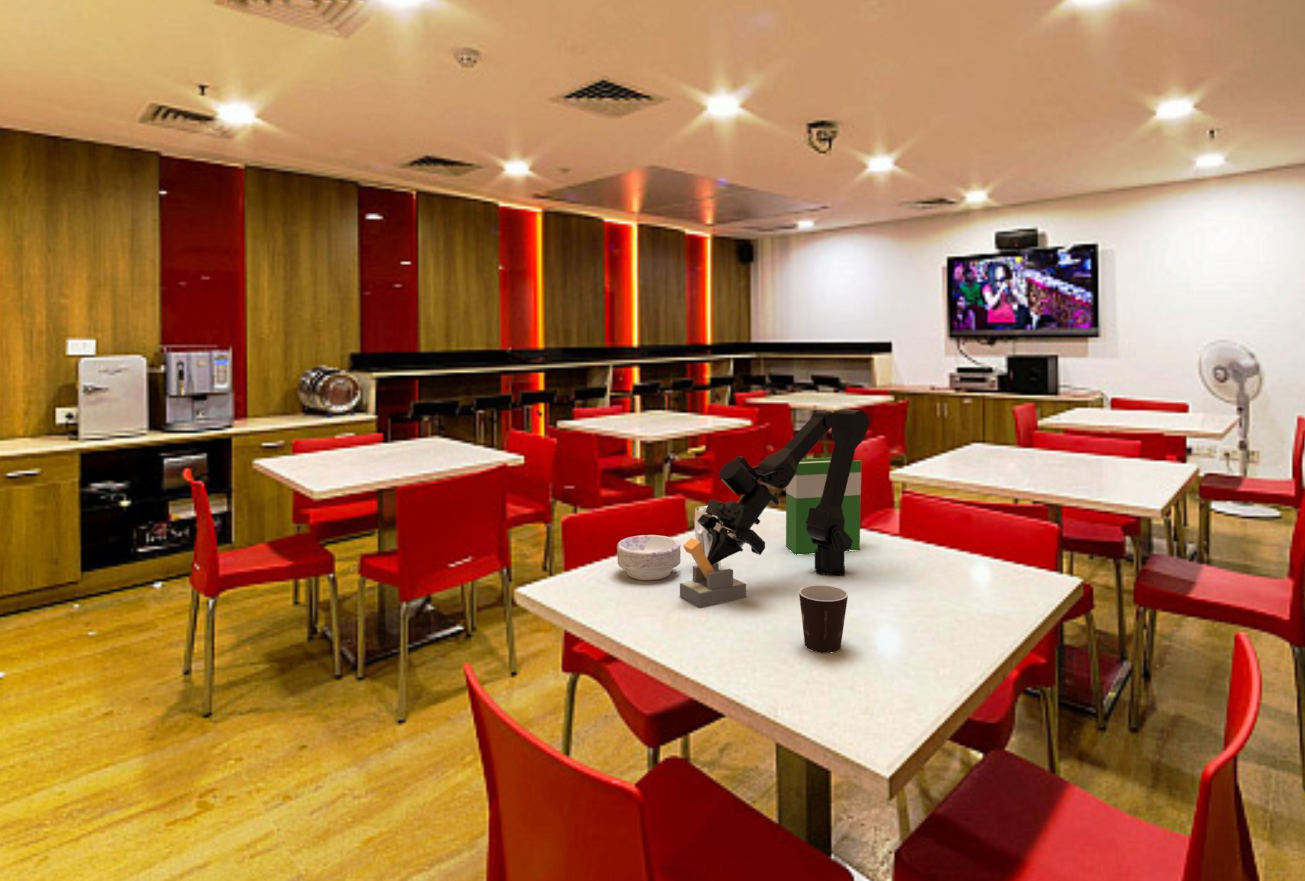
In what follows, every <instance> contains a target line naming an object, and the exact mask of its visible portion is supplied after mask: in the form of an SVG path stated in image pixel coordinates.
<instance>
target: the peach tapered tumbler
mask: <svg viewBox="0 0 1305 881" xmlns="http://www.w3.org/2000/svg"><path fill="white" fill-rule="evenodd" d="M707 506H708V505H701V506H697V507H695V509H694V513H695V514H694V535H695V540H698V541H700V542H701V543H702V545H703V547H704V549H703V552H704V554H705V556H706V557H708V554H709V551H710V547H711V544H712V539H713V538H712V535H711V534H710V533H709V532H708V531H707V530H706V529H705V528H704V527H702V526H701V525H700V524H699V523H698V520H699V518H700V517H701V516H702V515H703V514H709V515H712V514H711V513H706V512H705V511H706V509H707ZM712 516H714V517H716V518H718V517H717V516H715V515H712ZM721 523H722V522H721ZM722 524H723V523H722ZM721 561H722V560H721ZM721 561H719V562H717V563H719V571H720V570H722V568H723V566H722V562H721ZM696 566H698V565H697V564H696Z"/></svg>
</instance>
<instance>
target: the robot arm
mask: <svg viewBox="0 0 1305 881" xmlns="http://www.w3.org/2000/svg"><path fill="white" fill-rule="evenodd" d="M870 423H871V421H870V418H869V415H867V413H866V412H865V411H863V410H859V409H858V410H856V409H855V410H854V409H847V408H841V409H839V410H837V411H835V412H832V411H828V410H817V411H814V412H813V413H812V415H811V417H810V419H808V420H807V422H806V423H805V424H804V425H803V426H802V427H801V429H800V430H798V432H797V433H796V434H795V435H794V436H793V437H792V438H791V439H790V440H789V441H788V442H787V443H786V445H785V446H784V447H782V448H781V449H780V450H779V451H776V452H773V453H772V454H770V455H768V456H767V457H766V458H764V459H763V460H761V461H760V462H759V463H758V465H756V466H751V465H750V463H749V462H748V461H747V459H746V458H745V457H744V456H738V455H737V456H736V457H735V459H733V460H731V461H728V462H727V463H726V464H724V465H723V466H722V467H721V469H720V470H719V473H718V476H719V479H720V480H721V481H722V482H723V483H724V484H725V485H726V486H727V487H728V488H729V489H730V490H731V491H732V492H733V494H735V495H736V496H740V498H739V499H738V501H737V502H735V501H732V500H731V501H730V500H728V501H727V502H726V503H724V502H722V501H719V500H715V499H712V498H710V499H709V501H708V504H707V505H706V506H707V509H706V511H705V512H706V513H711V514H712V515H715V516H717V517H718V518H716V517H714V516H712V515H709V514H703V515H702V516H701V517H700V518H699V520H698V523H699V524H700V525H701V526H702V527H704V528H705V529H706V530H707V531H708V532H709V533H710V534H711V535H712V538H713V539H712V544H711V547H710V551H709V554H708V557H707V559H708V561H709V562H710V564H711V565H713V564H715V563H717V562H719V561H722V560H724V559H726V558H728V557H730V556H733V555H735V554H737V553H739V552H741V553H742V552H743V551H744V548H742V547H744V545H745V544H747V545H749V546H750V548H751V549H750V550H751V553H754V554H756V555H758V556H761V555H762V553H763V552H764V551H765V549H766V541H764V540H763V539H762V538H761V536H759V535H758V533H757V532H755V530H754V529H751V528H752V527H753V525H759V524H760V523H761V520H760V519H759V518H760V516H761V515H762V513H763V512H764V511H765V509H766V508H767V506H768V505H769V504H773V505H776V506H777V505H779V503H780V502H779V498H778V492H776V491H773V490H771V489H769V487H771V488H775V489H786V487H787V486H788V485H789V483H790V482H791V480H792V479H793V477H794V476H795V474H796V472H797V466H798V464H799V463H800V461H801V460H802V459H805V457H806V456H807V454H808V453H810V451H811V450H812V449H813V448H814V447H815V446H816V445H817V443H819V442H820V441H821V439H822V438H823V437H825V435H826V434H827V433H828V431H829V430H830V429H831V432H830V433H831V436H832V440H833V445H834V446H833V450H832V454H831V461H830V465H829V469H828V473H827V478H826V482H825V486H824V490H823V494H822V498H821V502H820V504H819V505H818V506H817V507H816V508H812V507H811V508H810V509H809V515H808V519H807V521H806V524H807V532H808V534H809V536H810V538H811V541H812V543H813V544H817V545H818V547H817V550H815V554H814V569H815V570H816V574H817V575H829V576H830V575H832V576H845V573H846V572H845V571H846V566H845V555H846V552H845V551H847V549H851V546H852V542H853V540H852V539H851V538H850V537H849V535H848V534H847V533H846V532H845V531H844V524H845V519H844V515H843V512H842V503H843V499H844V494H845V490H846V486H847V482H848V478H849V473H850V469H851V465H852V461H854V457H855V452H856V449H857V448H858V447H859V445H861V443H862V442H863V441H865V440H864V439H865V438H866V435H867V433H868V430H869V428H870ZM721 522H722V523H723V524H722V523H721Z"/></svg>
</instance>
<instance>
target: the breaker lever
mask: <svg viewBox="0 0 1305 881" xmlns="http://www.w3.org/2000/svg"><path fill="white" fill-rule="evenodd" d="M682 547H683V548H684V550H685V551H686V553H688V554H690V555H691V556H692V559H693V560H694V561H695V563H696V566H697V565H698V567H699V568H700V570H701V572H702V573H703V575H704V577H705V578H706V580H707V573H710V572H715V571H714V569H713V567H712V566H711V564H710V562H709V561H708V559H707V557H706V556H705V554H704V552H703V549H704V547H703V545H702V543H701V542H700V541H698V540H696V538H693V537H691V538H690V539H688V540H687V541H686V542H685V543H684V544H682Z"/></svg>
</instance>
